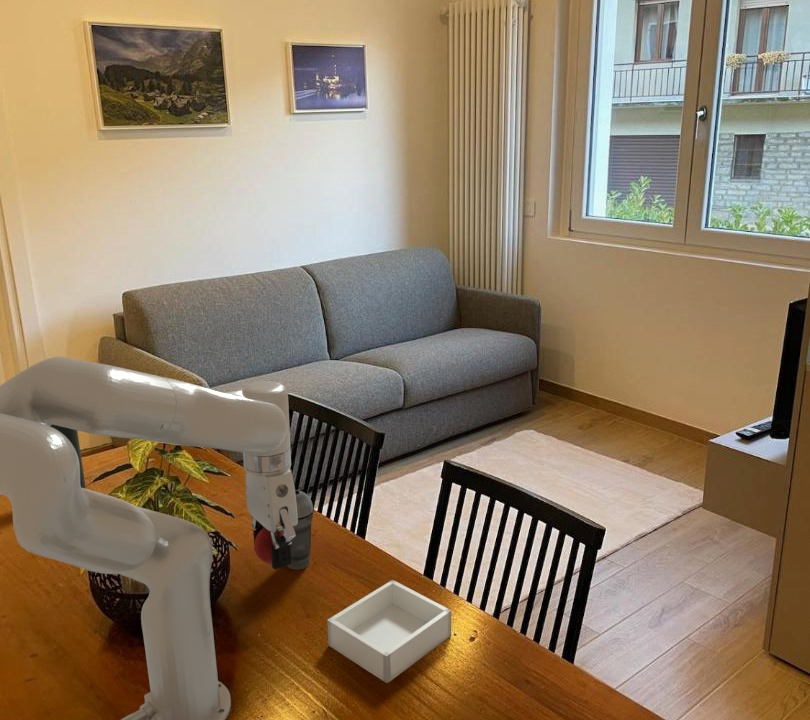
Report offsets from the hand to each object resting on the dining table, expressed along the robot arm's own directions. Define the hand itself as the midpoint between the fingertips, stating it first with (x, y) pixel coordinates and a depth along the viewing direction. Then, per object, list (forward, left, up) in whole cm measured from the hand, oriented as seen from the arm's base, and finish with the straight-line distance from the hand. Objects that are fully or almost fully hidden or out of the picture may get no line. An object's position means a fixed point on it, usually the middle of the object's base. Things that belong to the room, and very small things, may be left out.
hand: (272, 556), depth 130 cm
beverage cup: (+16, +13, -14) cm, 25 cm away
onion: (0, 0, -2) cm, 2 cm away
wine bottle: (0, +76, -14) cm, 78 cm away
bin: (+11, -17, -14) cm, 24 cm away
